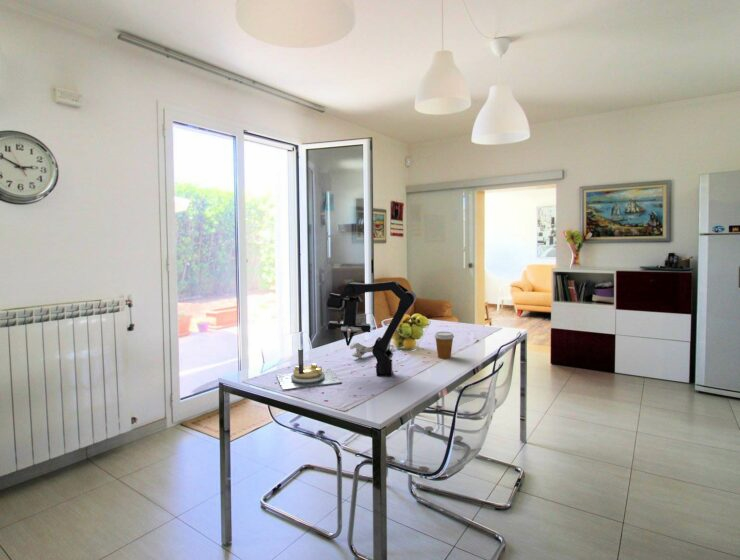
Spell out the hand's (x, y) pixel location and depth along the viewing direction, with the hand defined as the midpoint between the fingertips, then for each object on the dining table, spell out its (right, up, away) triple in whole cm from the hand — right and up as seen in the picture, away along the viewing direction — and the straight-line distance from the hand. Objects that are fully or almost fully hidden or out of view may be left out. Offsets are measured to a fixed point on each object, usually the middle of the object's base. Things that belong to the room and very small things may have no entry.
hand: (347, 345), depth 191 cm
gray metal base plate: (-16, -13, -9) cm, 23 cm away
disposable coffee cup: (+47, -10, +24) cm, 53 cm away
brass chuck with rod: (-16, -11, -9) cm, 22 cm away
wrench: (+11, -10, +31) cm, 34 cm away
